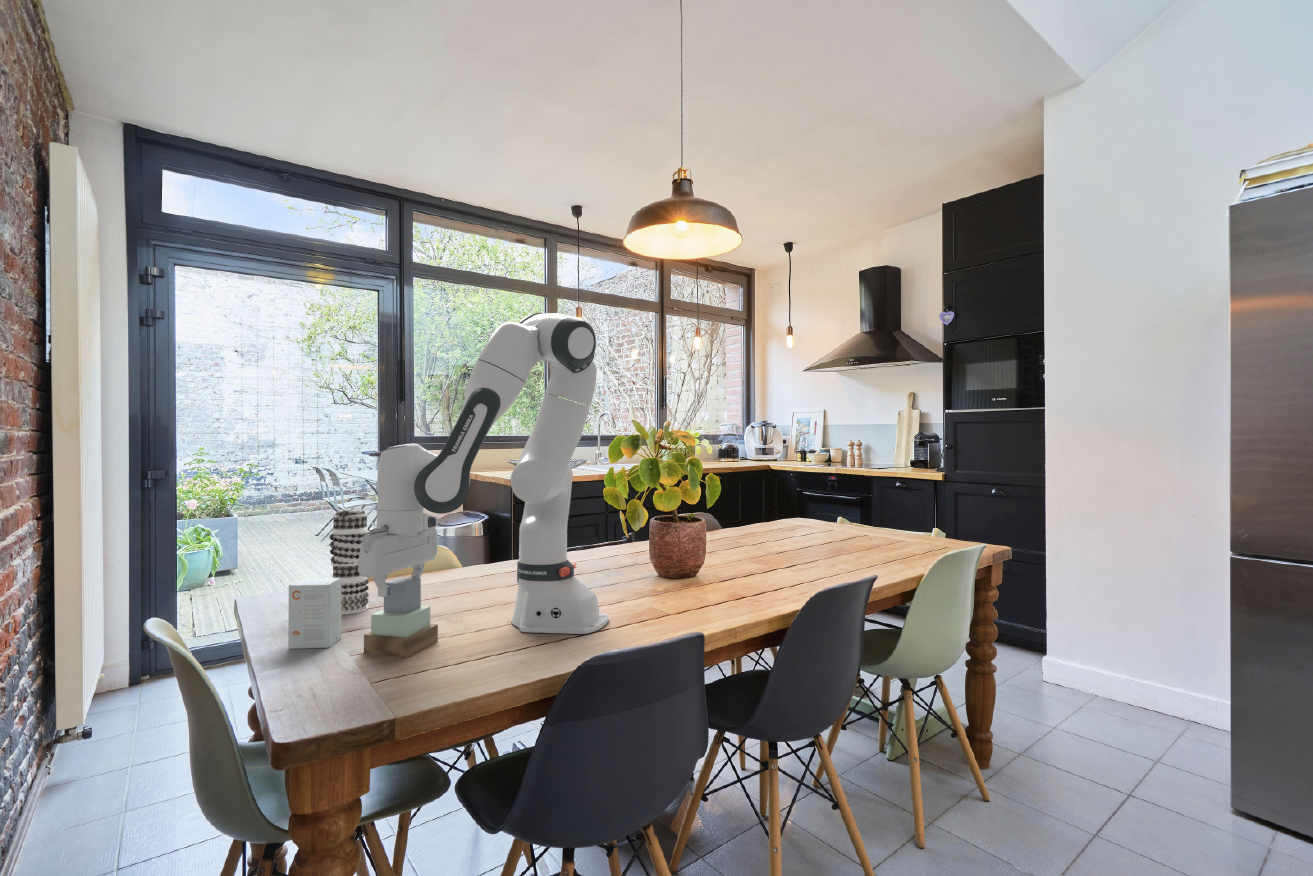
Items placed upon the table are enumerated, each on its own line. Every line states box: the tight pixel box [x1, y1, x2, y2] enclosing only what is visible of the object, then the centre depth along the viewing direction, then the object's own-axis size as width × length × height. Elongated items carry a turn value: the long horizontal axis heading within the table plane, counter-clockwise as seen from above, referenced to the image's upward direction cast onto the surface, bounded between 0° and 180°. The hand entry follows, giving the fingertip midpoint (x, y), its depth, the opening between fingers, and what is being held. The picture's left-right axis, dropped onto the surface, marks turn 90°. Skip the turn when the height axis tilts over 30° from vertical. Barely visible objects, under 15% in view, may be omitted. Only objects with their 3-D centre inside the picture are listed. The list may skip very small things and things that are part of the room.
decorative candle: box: [328, 507, 370, 615], centre depth 153 cm, size 9×9×25 cm
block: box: [383, 576, 422, 614], centre depth 126 cm, size 5×5×6 cm
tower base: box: [363, 623, 439, 658], centre depth 126 cm, size 10×10×4 cm
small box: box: [287, 577, 343, 650], centre depth 128 cm, size 8×6×13 cm
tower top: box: [370, 605, 431, 638], centre depth 126 cm, size 8×8×4 cm
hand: (399, 590), depth 126 cm, fingers open, 8 cm apart
